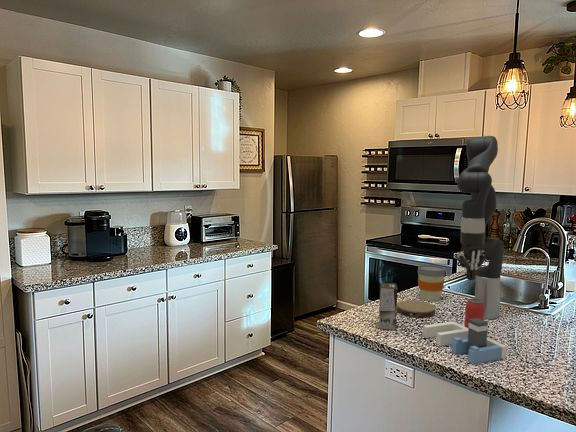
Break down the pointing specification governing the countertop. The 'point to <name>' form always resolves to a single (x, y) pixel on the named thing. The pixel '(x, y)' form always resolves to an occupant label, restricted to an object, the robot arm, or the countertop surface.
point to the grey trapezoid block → (477, 333)
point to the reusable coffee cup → (430, 282)
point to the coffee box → (388, 306)
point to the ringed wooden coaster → (415, 309)
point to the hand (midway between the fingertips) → (470, 279)
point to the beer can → (474, 310)
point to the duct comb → (464, 342)
